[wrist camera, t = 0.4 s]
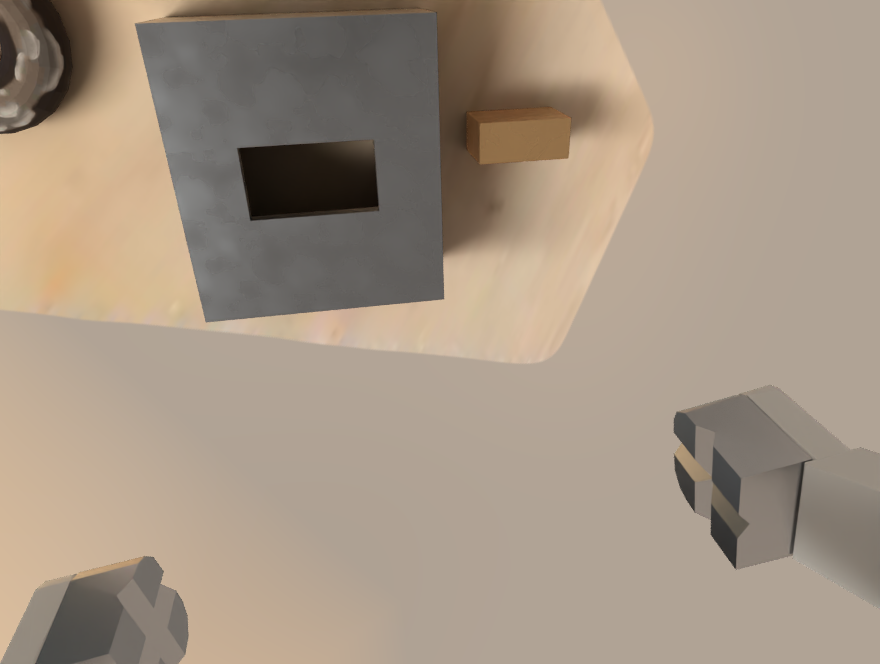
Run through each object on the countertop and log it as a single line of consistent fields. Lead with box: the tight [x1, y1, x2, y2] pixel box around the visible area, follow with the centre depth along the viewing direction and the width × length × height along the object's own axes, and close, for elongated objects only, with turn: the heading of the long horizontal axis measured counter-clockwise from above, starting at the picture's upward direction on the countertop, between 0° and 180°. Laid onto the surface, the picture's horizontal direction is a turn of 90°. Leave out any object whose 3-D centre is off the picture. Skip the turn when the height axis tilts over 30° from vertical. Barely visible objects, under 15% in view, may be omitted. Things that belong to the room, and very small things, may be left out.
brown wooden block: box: [467, 107, 571, 164], centre depth 49 cm, size 3×7×5 cm, turn 91°
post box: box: [135, 8, 444, 322], centre depth 46 cm, size 20×18×8 cm
